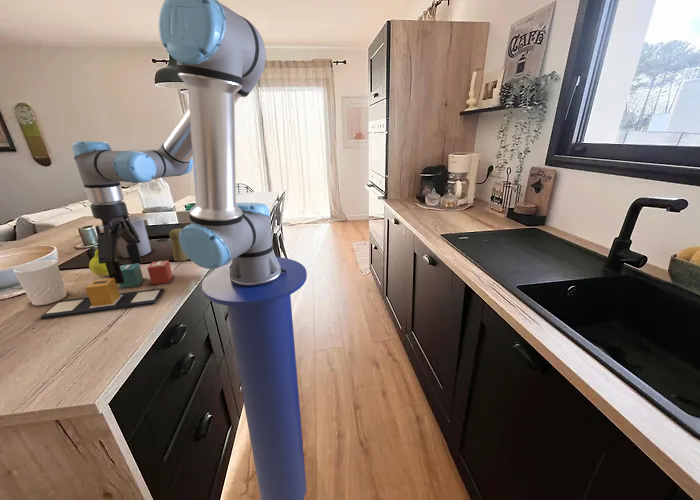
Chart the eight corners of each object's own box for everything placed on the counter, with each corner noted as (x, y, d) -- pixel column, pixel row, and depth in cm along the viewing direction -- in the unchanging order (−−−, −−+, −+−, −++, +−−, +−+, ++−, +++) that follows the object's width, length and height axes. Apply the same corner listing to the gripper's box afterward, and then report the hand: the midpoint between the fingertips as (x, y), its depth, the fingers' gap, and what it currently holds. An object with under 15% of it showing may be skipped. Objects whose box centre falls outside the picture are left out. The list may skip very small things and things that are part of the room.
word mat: (163, 289, 83) (162, 287, 83) (154, 304, 76) (153, 301, 75) (61, 302, 76) (60, 300, 76) (41, 319, 69) (40, 316, 69)
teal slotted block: (143, 279, 89) (138, 262, 87) (138, 286, 85) (133, 268, 83) (126, 281, 88) (121, 264, 86) (120, 288, 84) (114, 270, 82)
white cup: (61, 289, 83) (48, 257, 79) (75, 295, 80) (62, 262, 76) (23, 302, 76) (7, 268, 73) (36, 309, 73) (20, 274, 69)
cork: (170, 258, 104) (163, 229, 101) (187, 253, 109) (181, 226, 105) (178, 262, 101) (172, 232, 97) (195, 257, 106) (189, 228, 102)
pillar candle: (119, 253, 110) (107, 215, 104) (149, 247, 116) (139, 210, 110) (122, 260, 103) (110, 220, 98) (154, 253, 109) (144, 215, 104)
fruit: (89, 281, 88) (76, 244, 83) (97, 272, 93) (85, 238, 89) (117, 277, 90) (105, 241, 86) (123, 269, 96) (112, 235, 92)
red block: (172, 276, 91) (168, 259, 89) (168, 282, 87) (164, 265, 85) (156, 278, 90) (152, 261, 88) (151, 284, 86) (147, 267, 84)
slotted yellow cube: (120, 295, 78) (114, 276, 76) (112, 304, 74) (106, 284, 72) (100, 298, 77) (94, 279, 75) (92, 306, 73) (84, 286, 71)
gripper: (112, 194, 88) (130, 258, 95) (62, 213, 65) (91, 295, 73) (140, 193, 90) (155, 255, 97) (101, 212, 67) (125, 291, 75)
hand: (128, 272), depth 85 cm, fingers open, 13 cm apart
